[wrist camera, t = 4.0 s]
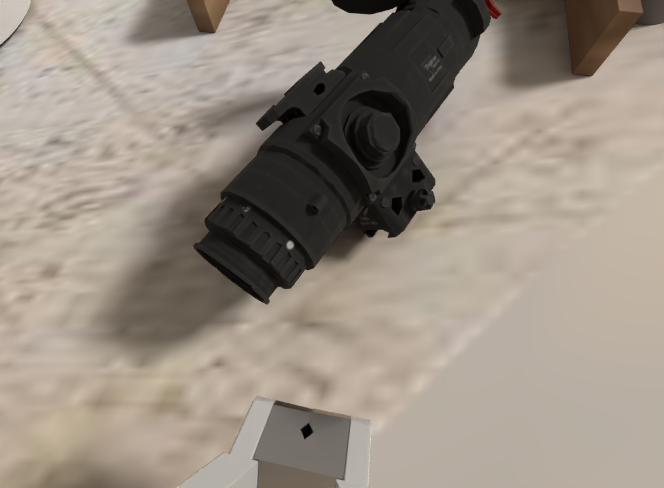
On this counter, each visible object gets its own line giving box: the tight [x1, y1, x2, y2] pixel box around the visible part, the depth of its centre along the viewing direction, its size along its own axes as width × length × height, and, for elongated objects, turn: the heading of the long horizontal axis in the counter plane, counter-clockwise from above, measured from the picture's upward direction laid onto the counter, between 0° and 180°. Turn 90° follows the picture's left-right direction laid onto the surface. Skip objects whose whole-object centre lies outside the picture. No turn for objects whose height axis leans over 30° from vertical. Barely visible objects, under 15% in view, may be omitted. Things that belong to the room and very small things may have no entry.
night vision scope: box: [193, 0, 502, 305], centre depth 16 cm, size 8×18×10 cm
